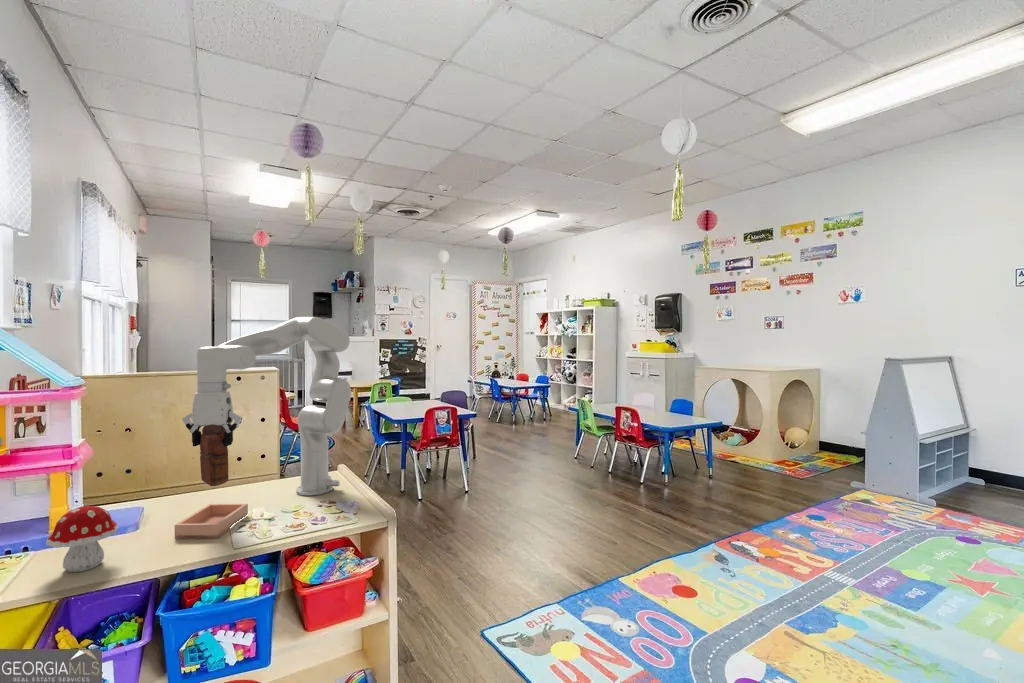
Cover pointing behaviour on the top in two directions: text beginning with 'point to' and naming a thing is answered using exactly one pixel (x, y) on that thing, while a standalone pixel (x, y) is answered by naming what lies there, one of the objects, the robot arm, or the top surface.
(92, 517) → the decorative mushroom
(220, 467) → the wooden figurine
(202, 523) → the tray
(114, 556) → the top surface
